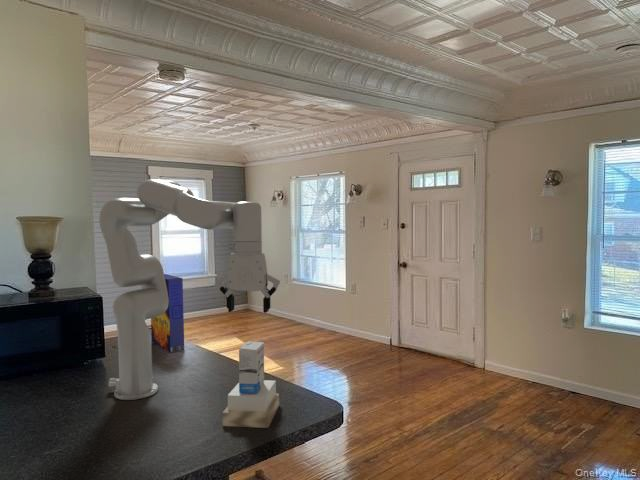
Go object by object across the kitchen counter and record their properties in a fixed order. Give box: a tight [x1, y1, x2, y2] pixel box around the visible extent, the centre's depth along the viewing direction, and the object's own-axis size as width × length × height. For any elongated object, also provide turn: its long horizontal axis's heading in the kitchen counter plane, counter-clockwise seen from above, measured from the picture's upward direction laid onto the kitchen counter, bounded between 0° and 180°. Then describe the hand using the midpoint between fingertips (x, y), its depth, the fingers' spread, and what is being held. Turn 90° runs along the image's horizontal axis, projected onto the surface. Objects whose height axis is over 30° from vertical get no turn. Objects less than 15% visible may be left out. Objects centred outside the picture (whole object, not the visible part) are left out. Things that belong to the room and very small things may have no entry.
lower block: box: [221, 393, 280, 429], centre depth 125 cm, size 12×14×4 cm
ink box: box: [238, 340, 265, 394], centre depth 124 cm, size 9×5×12 cm, turn 172°
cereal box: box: [150, 273, 185, 354], centre depth 194 cm, size 22×6×30 cm, turn 39°
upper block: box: [227, 379, 277, 412], centre depth 125 cm, size 10×12×4 cm
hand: (248, 311), depth 124 cm, fingers open, 9 cm apart
